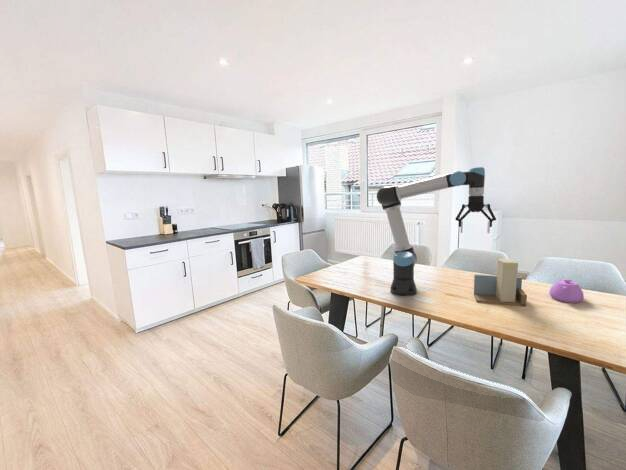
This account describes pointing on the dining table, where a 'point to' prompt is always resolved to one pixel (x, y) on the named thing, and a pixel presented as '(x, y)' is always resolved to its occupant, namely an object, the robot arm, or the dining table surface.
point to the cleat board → (487, 291)
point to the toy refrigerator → (506, 280)
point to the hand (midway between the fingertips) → (474, 232)
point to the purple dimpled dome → (566, 291)
